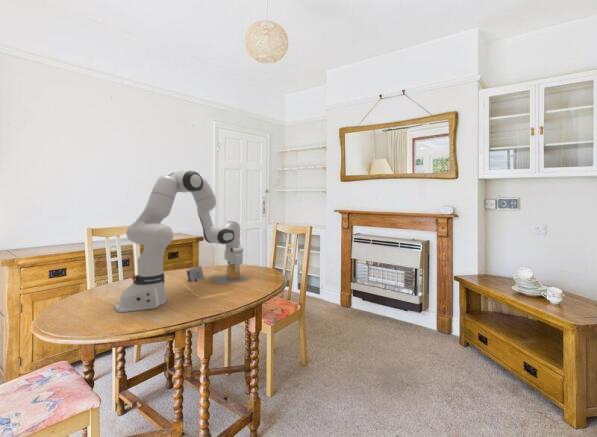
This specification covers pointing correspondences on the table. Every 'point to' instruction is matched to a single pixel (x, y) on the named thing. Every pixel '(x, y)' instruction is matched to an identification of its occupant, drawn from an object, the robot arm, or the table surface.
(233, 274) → the orange knobbed cube
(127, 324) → the table surface
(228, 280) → the board
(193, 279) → the electrical switch
